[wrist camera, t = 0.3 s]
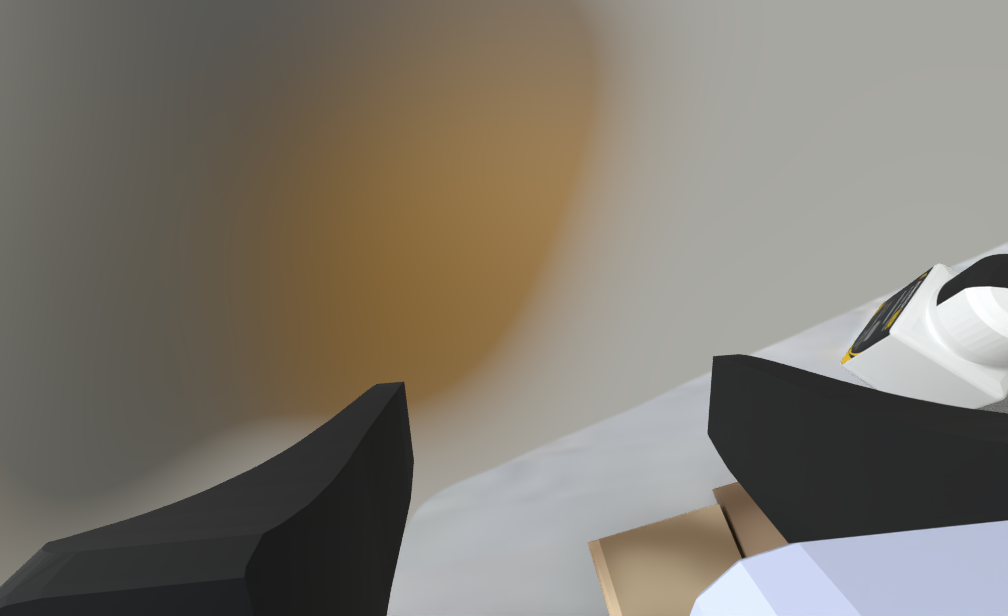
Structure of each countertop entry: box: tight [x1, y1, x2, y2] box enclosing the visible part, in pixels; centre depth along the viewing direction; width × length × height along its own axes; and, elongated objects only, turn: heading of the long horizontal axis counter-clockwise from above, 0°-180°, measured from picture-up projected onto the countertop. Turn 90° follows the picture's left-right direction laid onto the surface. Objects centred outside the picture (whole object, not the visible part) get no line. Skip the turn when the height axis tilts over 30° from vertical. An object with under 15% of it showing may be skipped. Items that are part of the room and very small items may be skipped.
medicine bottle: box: [840, 254, 1008, 409], centre depth 34 cm, size 7×7×12 cm
